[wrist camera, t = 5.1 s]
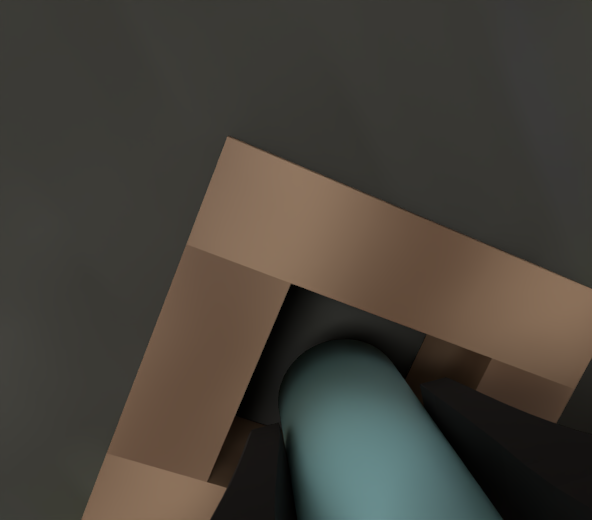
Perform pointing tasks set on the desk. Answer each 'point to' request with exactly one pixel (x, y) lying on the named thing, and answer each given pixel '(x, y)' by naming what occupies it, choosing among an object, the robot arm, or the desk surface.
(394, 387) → the peg
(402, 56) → the desk surface
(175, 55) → the desk surface
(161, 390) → the socket block
